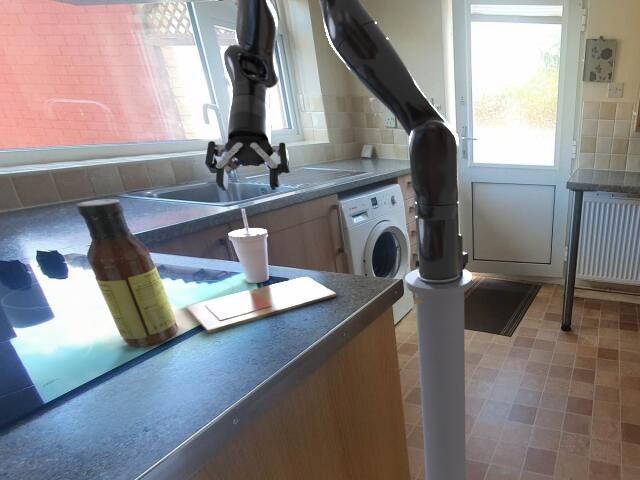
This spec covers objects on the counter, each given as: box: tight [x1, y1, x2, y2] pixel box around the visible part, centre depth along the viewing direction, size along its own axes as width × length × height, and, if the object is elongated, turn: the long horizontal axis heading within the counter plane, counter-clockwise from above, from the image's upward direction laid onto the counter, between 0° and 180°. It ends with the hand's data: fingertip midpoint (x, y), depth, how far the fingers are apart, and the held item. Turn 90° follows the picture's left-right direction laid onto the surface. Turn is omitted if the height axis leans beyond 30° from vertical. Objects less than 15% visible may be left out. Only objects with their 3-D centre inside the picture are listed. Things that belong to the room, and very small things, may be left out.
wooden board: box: [185, 276, 338, 334], centre depth 71 cm, size 20×12×1 cm, turn 139°
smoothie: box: [227, 208, 270, 284], centre depth 78 cm, size 6×6×14 cm
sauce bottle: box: [76, 198, 179, 348], centre depth 55 cm, size 7×6×20 cm
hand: (248, 187), depth 80 cm, fingers open, 8 cm apart
